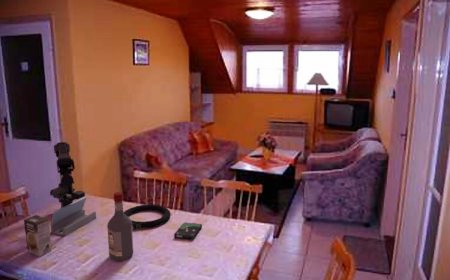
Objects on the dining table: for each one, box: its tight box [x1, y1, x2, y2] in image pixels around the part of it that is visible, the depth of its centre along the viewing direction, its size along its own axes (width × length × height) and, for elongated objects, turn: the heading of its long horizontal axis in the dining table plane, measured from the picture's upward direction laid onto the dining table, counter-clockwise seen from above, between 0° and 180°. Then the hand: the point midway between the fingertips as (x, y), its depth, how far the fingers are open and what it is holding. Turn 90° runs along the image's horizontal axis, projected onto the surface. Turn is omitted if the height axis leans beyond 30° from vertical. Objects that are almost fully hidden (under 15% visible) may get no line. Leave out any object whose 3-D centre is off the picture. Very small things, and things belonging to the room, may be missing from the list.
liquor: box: [106, 191, 134, 263], centre depth 156 cm, size 9×9×30 cm
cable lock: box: [124, 204, 171, 232], centre depth 197 cm, size 28×4×30 cm
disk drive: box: [173, 221, 203, 241], centre depth 182 cm, size 10×3×15 cm
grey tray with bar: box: [50, 209, 97, 237], centre depth 188 cm, size 9×23×4 cm, turn 160°
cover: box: [49, 196, 87, 227], centre depth 188 cm, size 9×22×1 cm
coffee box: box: [23, 214, 52, 257], centre depth 161 cm, size 9×6×16 cm
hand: (68, 208), depth 188 cm, fingers closed
